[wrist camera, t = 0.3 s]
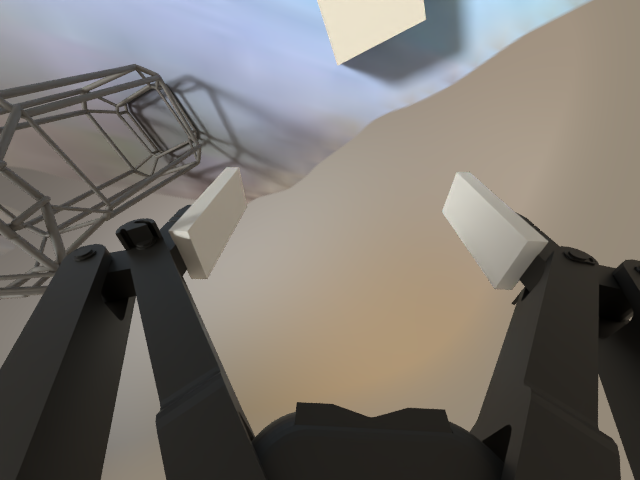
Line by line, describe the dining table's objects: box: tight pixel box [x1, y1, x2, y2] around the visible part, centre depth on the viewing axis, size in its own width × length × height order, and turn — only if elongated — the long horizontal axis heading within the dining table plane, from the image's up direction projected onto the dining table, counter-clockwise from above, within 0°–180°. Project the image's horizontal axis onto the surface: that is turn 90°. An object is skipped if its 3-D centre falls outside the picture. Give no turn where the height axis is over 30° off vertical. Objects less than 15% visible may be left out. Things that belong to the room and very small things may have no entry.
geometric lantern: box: [0, 64, 201, 299], centre depth 24 cm, size 16×16×35 cm
